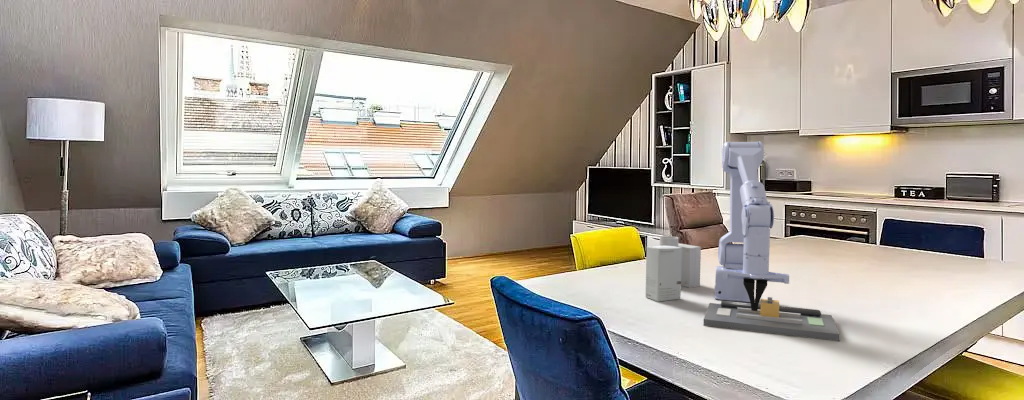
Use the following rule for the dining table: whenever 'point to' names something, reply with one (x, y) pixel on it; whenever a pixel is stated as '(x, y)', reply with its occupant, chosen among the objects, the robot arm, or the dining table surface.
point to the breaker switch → (769, 307)
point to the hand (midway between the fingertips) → (754, 309)
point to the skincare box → (663, 273)
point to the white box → (686, 261)
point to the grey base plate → (772, 320)
